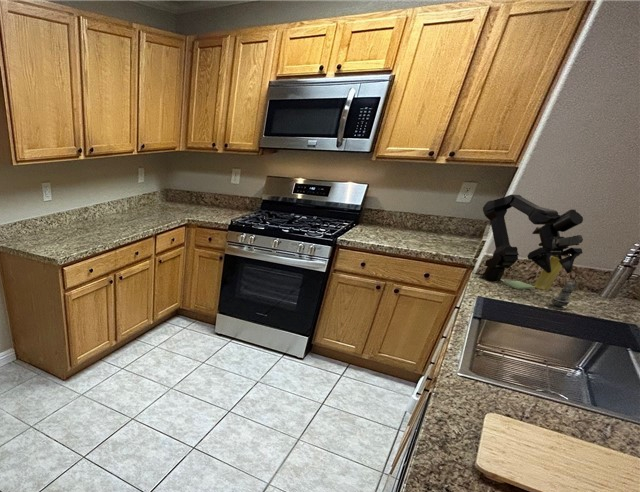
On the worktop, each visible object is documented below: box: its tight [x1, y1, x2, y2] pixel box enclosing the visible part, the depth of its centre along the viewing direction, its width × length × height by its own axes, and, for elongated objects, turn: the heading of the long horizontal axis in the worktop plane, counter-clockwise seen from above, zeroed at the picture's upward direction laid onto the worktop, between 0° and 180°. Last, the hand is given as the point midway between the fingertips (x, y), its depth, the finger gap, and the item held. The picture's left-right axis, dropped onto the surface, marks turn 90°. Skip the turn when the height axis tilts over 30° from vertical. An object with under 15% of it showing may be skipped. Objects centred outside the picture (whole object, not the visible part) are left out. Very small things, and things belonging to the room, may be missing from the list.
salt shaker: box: [547, 279, 577, 311], centre depth 167 cm, size 6×6×12 cm
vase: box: [532, 256, 563, 291], centre depth 187 cm, size 6×6×14 cm
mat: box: [501, 280, 536, 290], centre depth 192 cm, size 8×9×1 cm
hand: (559, 272), depth 169 cm, fingers open, 9 cm apart
